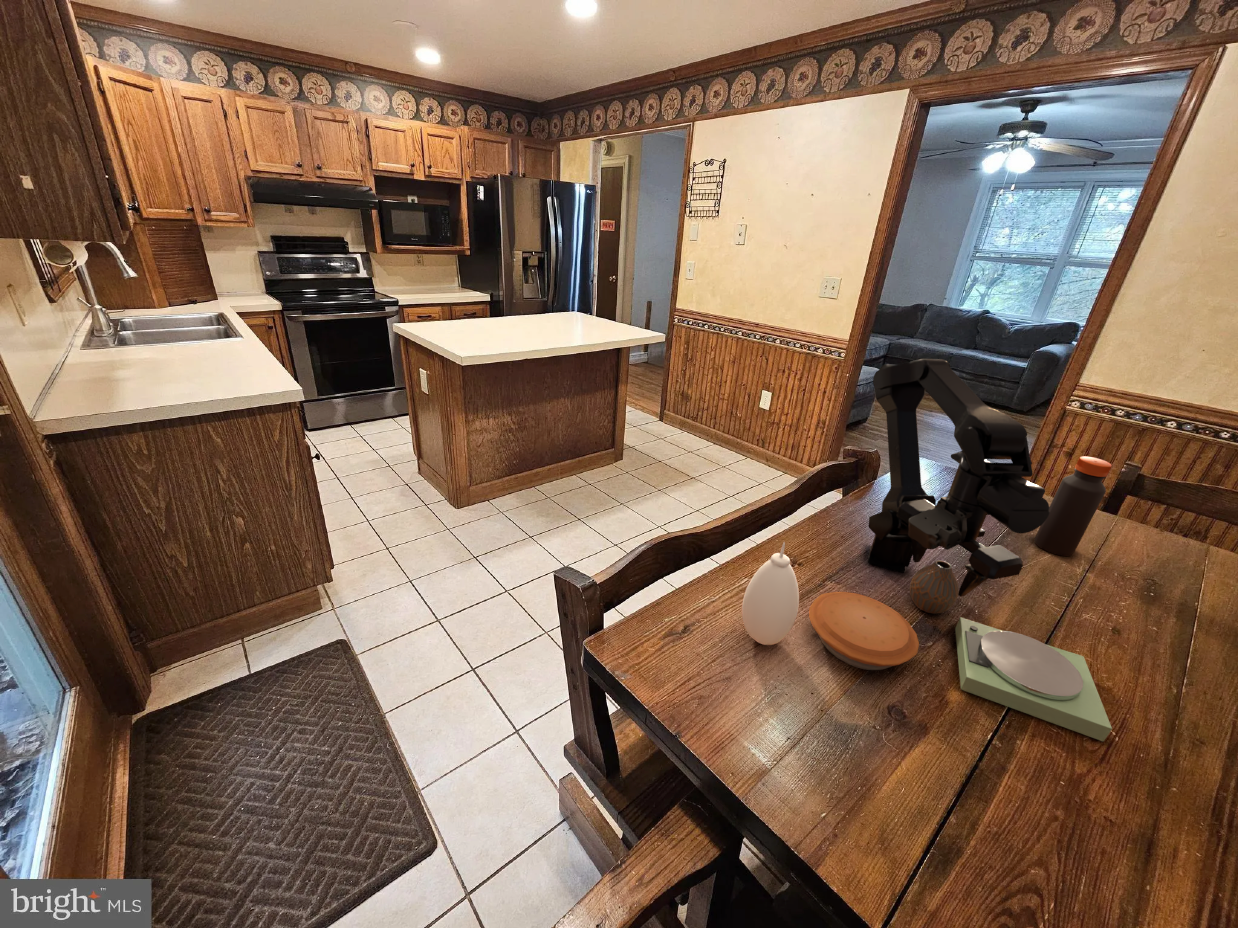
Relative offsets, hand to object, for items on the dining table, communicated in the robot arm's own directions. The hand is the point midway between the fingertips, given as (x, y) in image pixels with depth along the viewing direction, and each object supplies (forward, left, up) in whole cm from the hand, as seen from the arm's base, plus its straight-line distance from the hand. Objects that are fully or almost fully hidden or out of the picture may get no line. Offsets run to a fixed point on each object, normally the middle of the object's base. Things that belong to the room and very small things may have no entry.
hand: (937, 577), depth 86 cm
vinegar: (+24, +36, -6) cm, 44 cm away
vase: (0, 0, -6) cm, 6 cm away
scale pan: (+12, -11, -3) cm, 17 cm away
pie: (-10, -16, -6) cm, 20 cm away
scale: (+12, -11, -6) cm, 17 cm away
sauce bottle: (-23, -23, -6) cm, 33 cm away
